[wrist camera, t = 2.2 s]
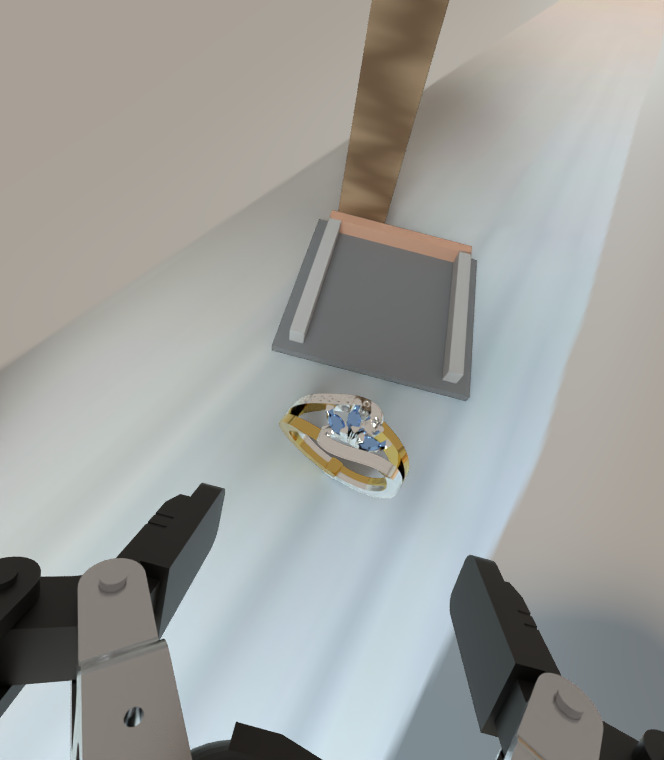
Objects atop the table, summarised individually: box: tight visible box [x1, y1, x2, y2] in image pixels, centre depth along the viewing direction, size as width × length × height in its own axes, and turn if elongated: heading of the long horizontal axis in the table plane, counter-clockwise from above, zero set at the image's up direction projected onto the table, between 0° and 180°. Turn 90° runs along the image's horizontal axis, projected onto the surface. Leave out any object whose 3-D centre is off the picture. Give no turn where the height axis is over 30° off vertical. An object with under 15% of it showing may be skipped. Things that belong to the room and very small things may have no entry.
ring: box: [279, 394, 409, 499], centre depth 20 cm, size 7×3×8 cm, turn 55°
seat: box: [272, 210, 477, 401], centre depth 29 cm, size 14×14×2 cm
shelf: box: [338, 0, 449, 223], centre depth 21 cm, size 14×14×27 cm
